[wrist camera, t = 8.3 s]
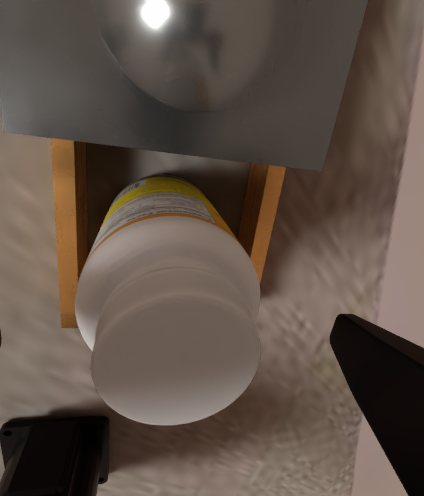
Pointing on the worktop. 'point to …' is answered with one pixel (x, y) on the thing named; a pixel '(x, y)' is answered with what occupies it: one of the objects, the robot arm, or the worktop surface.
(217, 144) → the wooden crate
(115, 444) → the worktop surface
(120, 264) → the supplement bottle
